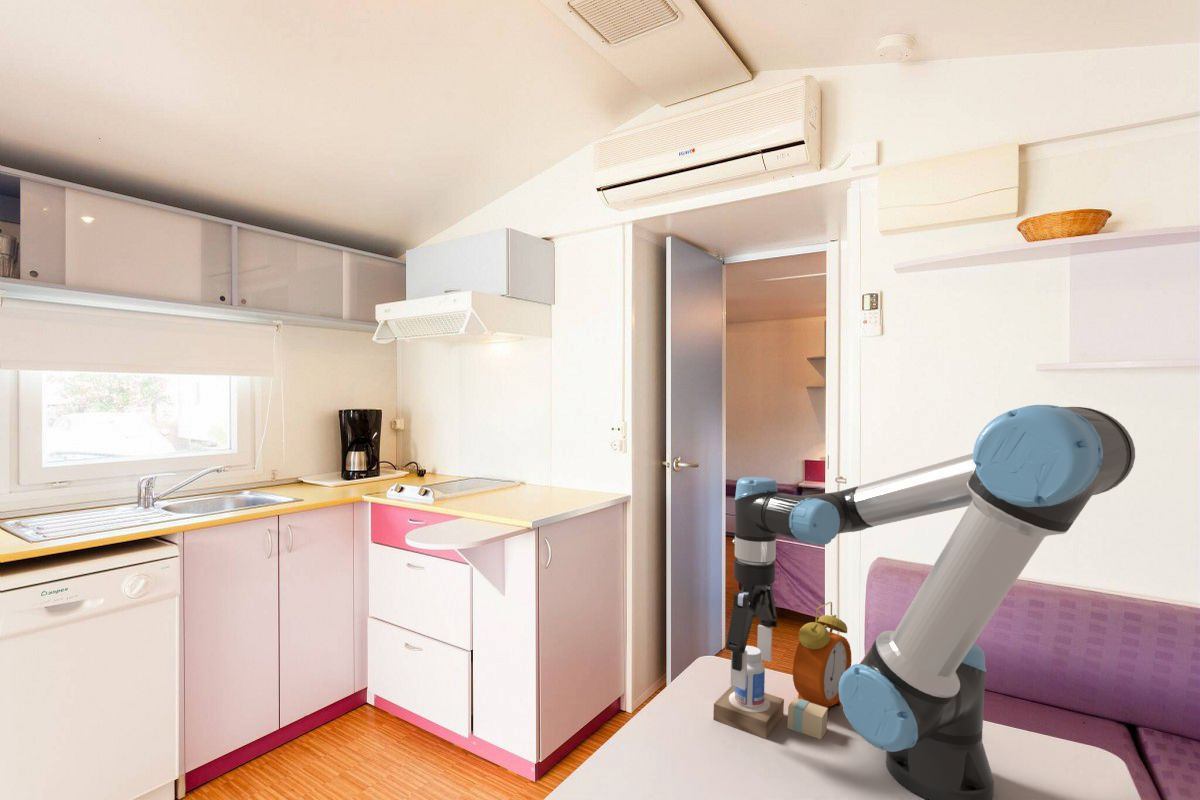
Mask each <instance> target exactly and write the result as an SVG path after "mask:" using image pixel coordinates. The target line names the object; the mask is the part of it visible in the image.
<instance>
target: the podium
mask: <svg viewBox="0 0 1200 800" xmlns="http://www.w3.org/2000/svg"><path fill="white" fill-rule="evenodd" d="M784 707H785V698H783V697H779V696H776V695H773V694H770V693H766V692H764V704H763V705H762V706H760V707H757V708H749V707H745V706H742V705H740V704H739V703H738V702H737V701H736V700H735V686H733V685H730V687H728V688H727V690H726V691H725V692H724V693H723V694H721V696H720V697H719V698H717V700H716V701H715V702H714V703H713V717H712V718H713V720H714V721H716V722H718V723H719V722H720V724H721V723H722V724H725V725H727V726H730V727H732V728H734V729H738V730H740V731H744V732H746V733H749V734H751V735H753V736H757V737H759V738H762V739H767V738H768V737H769V735H770V734H771V732H772V731H773V729H775V727H776V725H777V724H778V723H779V722H780V721H781V719H782V718H783V716H784V713H785V711H784Z"/></svg>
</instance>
